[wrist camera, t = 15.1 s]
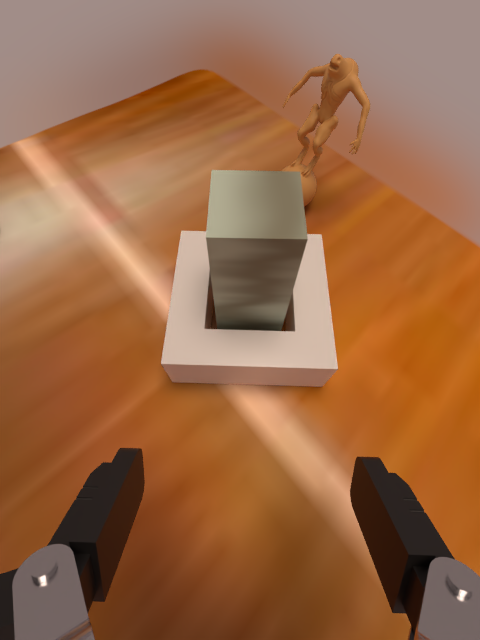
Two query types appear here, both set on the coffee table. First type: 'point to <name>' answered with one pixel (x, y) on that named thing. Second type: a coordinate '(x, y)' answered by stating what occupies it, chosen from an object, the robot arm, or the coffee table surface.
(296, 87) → the figurine
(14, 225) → the coffee table surface
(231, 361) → the white well block
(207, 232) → the green metallic peg
